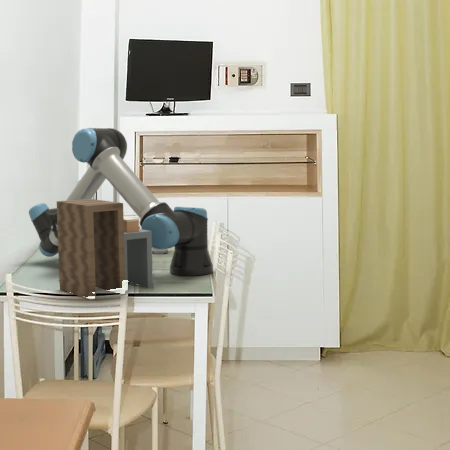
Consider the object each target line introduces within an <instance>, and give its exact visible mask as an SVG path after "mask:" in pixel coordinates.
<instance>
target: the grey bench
mask: <svg viewBox="0 0 450 450" xmlns="http://www.w3.org/2000/svg"><path fill="white" fill-rule="evenodd" d="M124 255H125V280H128V281H129V282H128V283H131V284H135V285H137V284H138V285H139V286H142V287H144V286H145V288H153V286H154V284H153V283H154V282H153V281H154V280H153V279H154V278H153V253H152V231H149V230H143V229H141V228H140V229H139V231H137V232H128V233H127V232H124Z"/></svg>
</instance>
